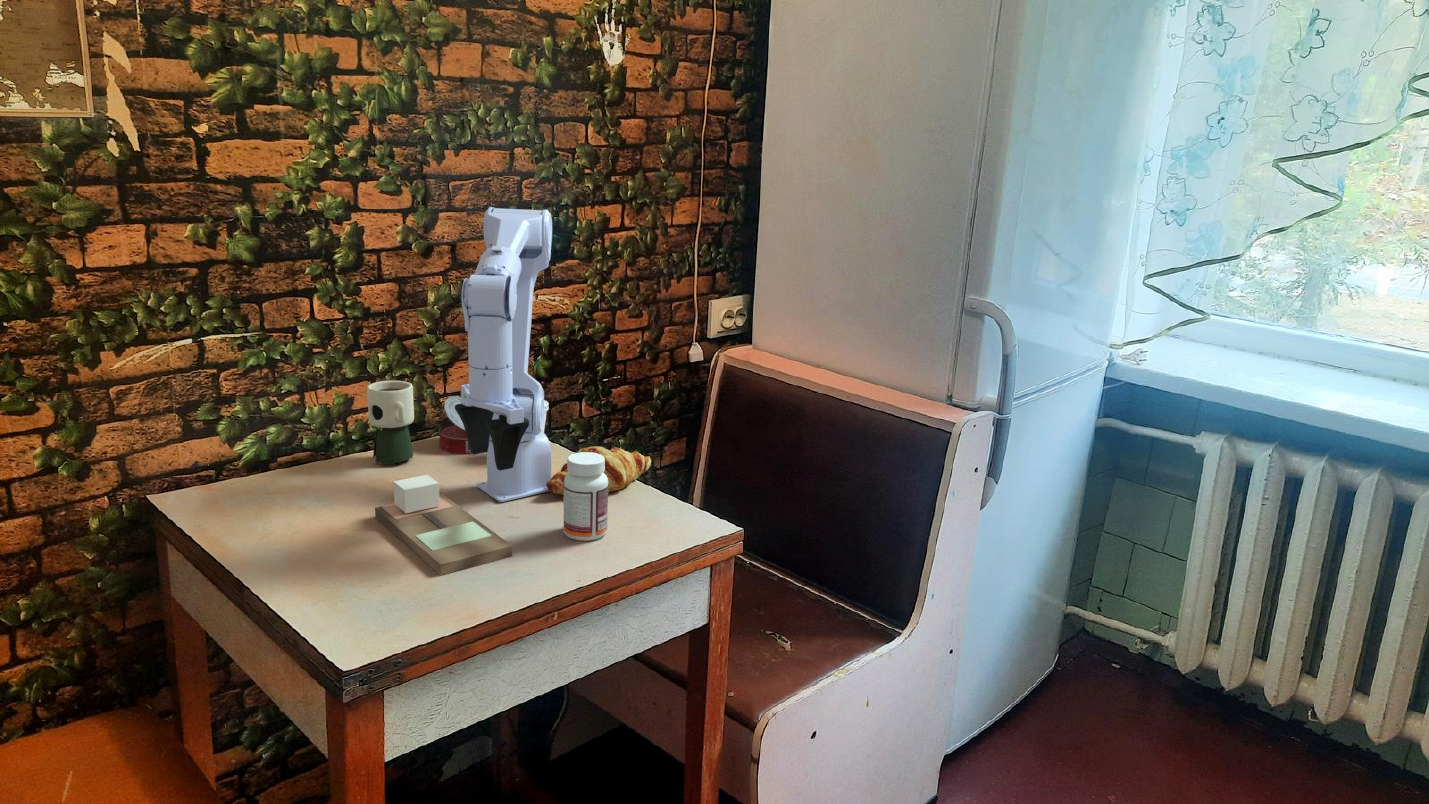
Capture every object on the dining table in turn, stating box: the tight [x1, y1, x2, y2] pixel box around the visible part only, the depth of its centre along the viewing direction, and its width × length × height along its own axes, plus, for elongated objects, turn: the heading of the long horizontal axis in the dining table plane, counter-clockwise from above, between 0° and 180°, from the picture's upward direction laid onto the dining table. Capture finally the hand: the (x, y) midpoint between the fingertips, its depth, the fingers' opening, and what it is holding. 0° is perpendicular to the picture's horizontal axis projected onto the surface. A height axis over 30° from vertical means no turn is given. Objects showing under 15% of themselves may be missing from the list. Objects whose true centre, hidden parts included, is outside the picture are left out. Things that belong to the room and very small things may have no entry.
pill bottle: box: [563, 452, 609, 542], centre depth 132 cm, size 6×6×11 cm
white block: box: [393, 474, 440, 513], centre depth 135 cm, size 5×4×4 cm
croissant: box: [546, 446, 652, 496], centre depth 151 cm, size 21×10×8 cm, turn 139°
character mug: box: [366, 380, 415, 465], centre depth 156 cm, size 11×7×13 cm, turn 37°
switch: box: [374, 493, 513, 576], centre depth 130 cm, size 10×22×2 cm, turn 40°
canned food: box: [438, 395, 473, 455], centre depth 166 cm, size 11×10×10 cm
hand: (492, 460), depth 130 cm, fingers open, 7 cm apart
